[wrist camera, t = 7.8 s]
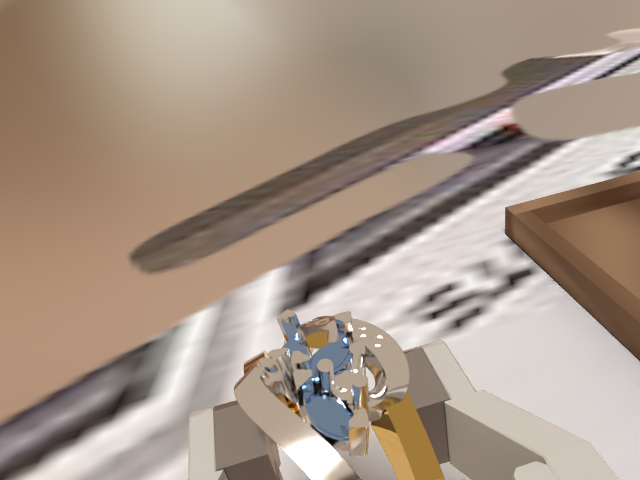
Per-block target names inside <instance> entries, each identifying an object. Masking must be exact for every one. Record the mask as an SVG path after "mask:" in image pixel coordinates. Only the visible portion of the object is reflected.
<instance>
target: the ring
mask: <svg viewBox="0 0 640 480" xmlns="http://www.w3.org/2000/svg"><path fill="white" fill-rule="evenodd" d="M277 320H278V323H279V325H280V328H281V330H282V333H283V335H284V337H285V341H284V346H283V347H282V348H281V349H277V350H272V351H270V352H269V353H267V352H266V351H263V352H262V353H260V354H258V355H256V356H255V357H253V358H251V359H250V360H248V361H246V362H245V363H244V376H243V377H242V378H241V379H240V380H239V381H238V382H237V383H236V384H235V387H234V394H235V397H236V399H237V401H238V403H239V405H240V406H241V408H242V409H243V410H244V411H245V412H246V414H247V415H248V416H249V417H250V418H251V419H252V420H253V421H254V422H255V423H256V424H257V425H258V426H259V427H260V428H261V429H262V430H263V431H264V432H265V433H267V434H268V435H269V436H270V437H271V438H272V439H273V440H274V441H275V442H276V443H277V444H278V445H279V446H280V447H281V448H282V449H283V450H284V451H285V452H286V453H287V454H288V455H289V456H290V457H291V458H292V459H293V460H294V461H295V462H296V463H297V464H298V465H299V466H300V467H301V468H302V469H303V470H304V471H305V472H306V473H307V475H308V476H309V477H310V478H311V479H312V480H361V479H360V478H359V477H358V476H357V474H356V473H355V472H354V471H353V469H352V468H351V467H350V466H349V465H348V464H347V463H346V461H345V460H344V459H343V458H342V457H341V456H340V455H339V454H338V453H337V452H336V451H335V449H337V450H343V451H349V455H350V456H367V455H368V445H369V422H371V421H372V422H371V427H372V429H373V431H374V432H375V434H376V436H377V438H378V439H379V441H380V443H381V445H382V447H383V449H384V451H385V453H386V455H387V457H388V459H389V461H390V463H391V465H392V467H393V470H394V472H395V474H396V477H397V479H398V480H445V479H444V476H443V474H442V471H441V468H440V465H439V462H438V460H437V457H436V455H435V452H434V450H433V447H432V445H431V442H430V440H429V437H428V435H427V433H426V430H425V428H424V426H423V424H422V421H421V419H420V417H419V415H418V413H417V411H416V409H415V407H414V405H413V402H412V401H411V399H410V397H409V395H408V393H407V388H408V384H409V367H408V362H407V359H406V357H405V355H404V353H403V351H402V349H401V348H400V346H399V345H398V343H397V342H396V341H395V340H394V339H393V338H392V337H391V336H390V335H389V334H387V333H386V332H385V331H383V330H382V329H380V328H378V327H376V326H374V325H372V324H370V323H367V322H364V321H361V320H357V319H352V317H351V312H344V313H340V314H337V315H334V316H322V317H318V318H315V319H313V320H311V321H309V322H306V323H304V324H302V325H300V323H299V321H298V318H297V316H296V314H295V313H294V312H293V311H291V310H286V311H285V312H284V313H282V314H281V315H280V316H279V317H278V318H277ZM314 348H318V349H319V350H318V351H317V352H316V353H315V354H314V355H313V356H312V352H313V350H314ZM311 356H312V357H311ZM365 366H366V367H367V368H368V369H369V370H370V371H371V372H372V374H373V376H374V378H375V387H374V389H373V390H371V391H369V392H368V378H367V376H366V367H365ZM297 402H298V404H299V408H298V406H297V404H296V403H297ZM303 417H304V418H303ZM304 419H305V420H304Z"/></svg>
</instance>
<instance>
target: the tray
mask: <svg viewBox="0 0 640 480" xmlns="http://www.w3.org/2000/svg"><path fill="white" fill-rule="evenodd" d="M505 234H506V235H507V236H508V237H510V238H511V239H512V240H513V241H514V242H515V243H516V244H517V245H518V246H519V247H520V248H521V249H522V250H523V251H524V252H525V253H527V254H528V255H529V256H530V257H531V258H532V259H533V260H534V261H535V262H536V263H537V264H538V265H539V266H540V267H541V268H542V269H543V270H545V271H546V272H547V273H548V274H549V275H550V276H551V277H552V278H553V279H554V280H555V281H556V282H557V283H558V284H559V285H560V286H562V287H563V288H564V289H565V290H566V291H567V292H568V293H569V294H570V295H571V296H572V297H573V298H574V299H575V300H576V301H577V302H578V303H580V304H581V305H582V306H583V307H584V308H585V309H586V310H587V311H588V312H589V313H590V314H591V315H592V316H593V317H594V318H595V319H597V320H598V321H599V322H600V323H601V324H602V325H603V326H604V327H605V328H606V329H607V330H608V331H609V332H610V333H611V334H612V335H614V336H615V337H616V338H617V339H618V340H619V341H620V342H621V343H622V344H623V345H624V346H625V347H626V348H627V349H628V350H629V351H630V352H632V353H633V354H634V355H635V356H636V357H637V358H638V359H639V360H640V172H636V173H632V174H629V175H625V176H621V177H617V178H614V179H610V180H606V181H602V182H599V183H595V184H591V185H587V186H584V187H580V188H576V189H572V190H569V191H565V192H561V193H557V194H554V195H550V196H546V197H542V198H539V199H535V200H531V201H527V202H524V203H520V204H516V205H512V206H509V207H505Z"/></svg>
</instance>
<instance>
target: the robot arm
mask: <svg viewBox="0 0 640 480" xmlns="http://www.w3.org/2000/svg"><path fill="white" fill-rule="evenodd" d="M403 353H404V355H405V357H406V359H407V362H408V367H409V384H408V388H407V393H408V395H409V397H410V399H411V401H412V402H413V405H414V407H415V409H416V411H417V413H418V415H419V417H420V419H421V421H422V424H423V426H424V428H425V430H426V433H427V435H428V437H429V440H430V442H431V445H432V447H433V450H434V452H435V455H436V457H437V460H438V462H439V464H442V463H446V462H449V461H450V464H452V465H453V466H454V467H456V468H457V469H458V470H460V471H461V472H462V473H464V474H465V475H466V476H468V477H469V478H470V479H472V480H619V479H618V477H617V476H616V475H615V474H614V472H613V471H612V470H611V469H610V467H609V466H608V465H607V464H606V462H605V461H604V460H603V459H602V457H601V456H600V455H599V454H598V452H597V451H596V450H595V448H594V447H593V446H592V445H591V443H590V442H588V441H586V440H584V439H582V438H579V437H577V436H575V435H573V434H571V433H569V432H567V431H565V430H563V429H561V428H559V427H557V426H555V425H553V424H551V423H549V422H547V421H545V420H543V419H541V418H539V417H537V416H535V415H533V414H531V413H529V412H527V411H525V410H523V409H521V408H519V407H517V406H515V405H512V404H510V403H508V402H506V401H504V400H502V399H500V398H498V397H496V396H494V395H492V394H490V393H488V392H486V391H484V390H482V391H478V392H476V390H475V389H474V387H473V386H472V384H471V382H470V381H469V379H468V378H467V376H466V375H465V373H464V371H463V370H462V368H461V367H460V365H459V364H458V362H457V361H456V359H455V357H454V356H453V354H452V353H451V351H450V350H449V348H448V346H447V345H446V343H445V342H444V341H442V340H438V341H435V342H432V343H428V344H425V345H422V346H420V347H415V348H412V349H409V350H406V351H403ZM280 464H281V462H280V457H279V452H278V447H277V443H276V442H275V441H274V440H273V439H272V438H271V437H270V436H269V435H268V434H267V433H265V432H264V431H263V430H262V429H261V428H260V427H259V426H258V425H257V424H256V423H255V422H254V421H253V420H252V419H251V418H250V417H249V416H248V415H247V414H246V412H245V411H244V410H243V409H242V408H241V406H240V405H239V403H238V401H237V400H236V401H233V402H229V403H225V404H221V405H218V406H215V407H212V408H209V409H205V410H201V411H197V412H193V413H191V415H190V418H189V480H283V478H282V475H281V472H280V469H279V466H280Z"/></svg>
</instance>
